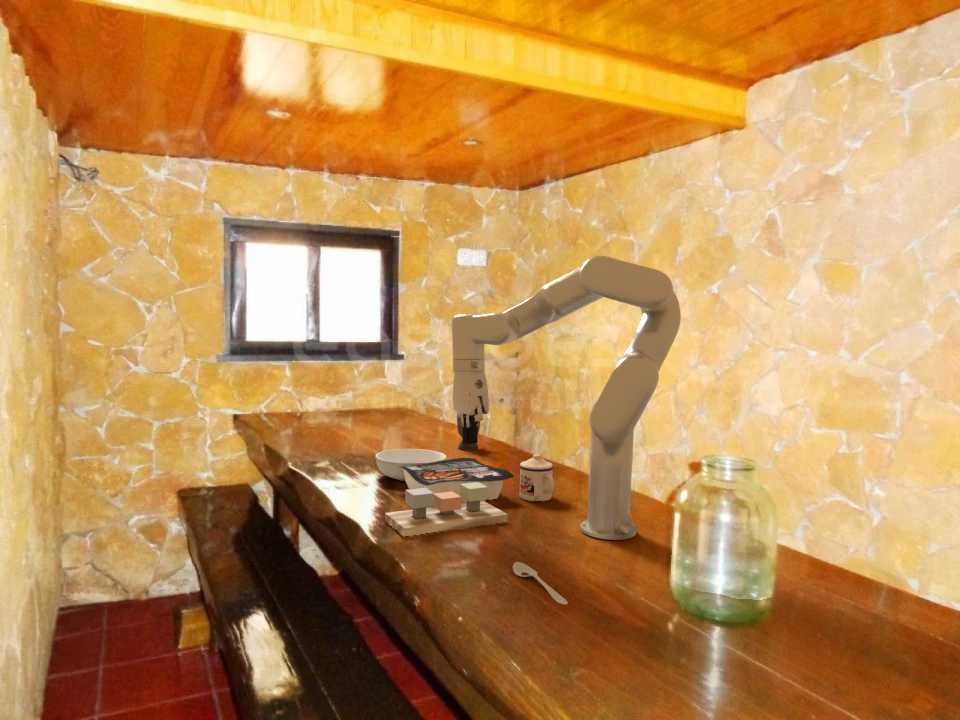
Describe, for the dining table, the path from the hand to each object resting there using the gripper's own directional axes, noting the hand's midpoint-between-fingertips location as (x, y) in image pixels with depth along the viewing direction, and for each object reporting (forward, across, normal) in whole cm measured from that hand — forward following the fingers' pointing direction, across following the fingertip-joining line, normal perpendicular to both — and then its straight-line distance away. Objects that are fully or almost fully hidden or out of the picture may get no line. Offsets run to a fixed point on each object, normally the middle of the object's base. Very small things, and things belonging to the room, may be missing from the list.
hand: (470, 443), depth 156 cm
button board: (+18, 0, +7) cm, 19 cm away
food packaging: (+18, +20, -5) cm, 28 cm away
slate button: (+16, 0, +14) cm, 21 cm away
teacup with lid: (+19, +7, -24) cm, 32 cm away
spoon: (+20, -41, +8) cm, 46 cm away
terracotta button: (+17, 0, +7) cm, 19 cm away
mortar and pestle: (+18, +71, -38) cm, 83 cm away
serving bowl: (+17, +42, -2) cm, 46 cm away
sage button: (+16, 0, 0) cm, 16 cm away
